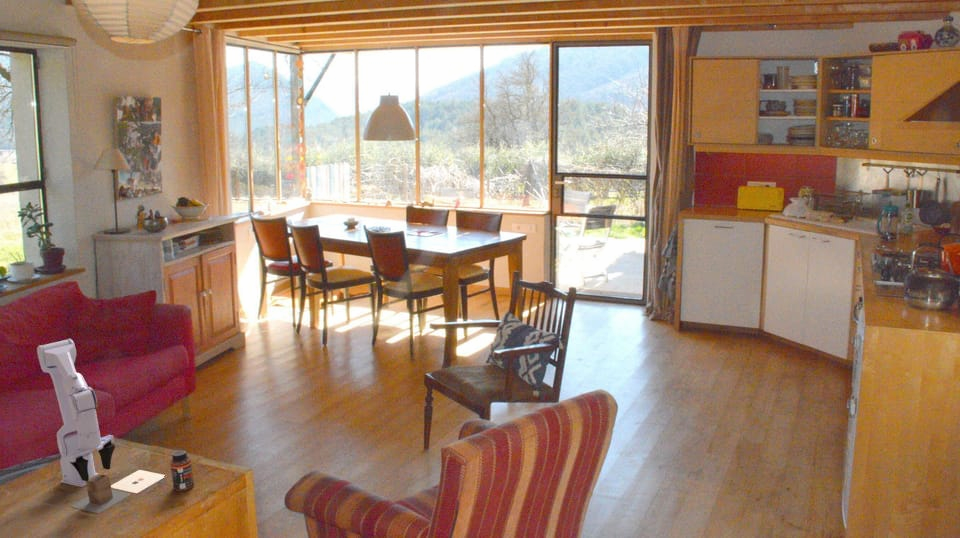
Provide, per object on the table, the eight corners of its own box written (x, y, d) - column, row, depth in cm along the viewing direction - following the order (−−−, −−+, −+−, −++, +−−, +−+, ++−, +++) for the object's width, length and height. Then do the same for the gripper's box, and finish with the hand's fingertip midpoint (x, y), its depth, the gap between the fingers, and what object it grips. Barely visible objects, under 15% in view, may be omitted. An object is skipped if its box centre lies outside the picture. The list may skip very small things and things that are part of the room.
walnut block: (89, 502, 258) (85, 480, 257) (102, 495, 262) (98, 473, 261) (100, 505, 256) (96, 482, 255) (112, 497, 260) (109, 476, 258)
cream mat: (108, 487, 268) (108, 486, 268) (139, 470, 278) (139, 469, 278) (136, 493, 262) (136, 493, 262) (167, 476, 273) (167, 475, 272)
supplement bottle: (188, 492, 261) (182, 457, 258) (170, 492, 262) (164, 457, 259) (198, 483, 266) (193, 448, 264) (180, 482, 268) (175, 448, 265)
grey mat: (69, 507, 257) (69, 506, 257) (103, 488, 267) (103, 487, 267) (98, 514, 251) (98, 513, 251) (131, 494, 262) (131, 494, 262)
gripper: (76, 443, 246) (85, 487, 249) (118, 423, 259) (125, 465, 262) (59, 439, 249) (67, 483, 252) (101, 419, 262) (109, 462, 265)
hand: (96, 474), depth 257 cm, fingers open, 7 cm apart
